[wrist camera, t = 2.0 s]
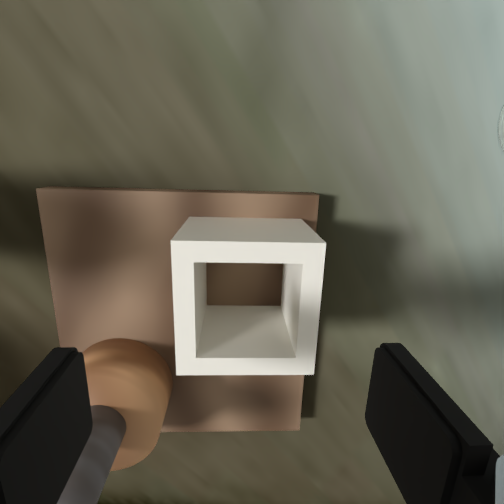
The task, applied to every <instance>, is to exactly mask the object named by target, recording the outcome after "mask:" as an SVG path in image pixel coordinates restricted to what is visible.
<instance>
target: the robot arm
mask: <svg viewBox="0 0 504 504" xmlns="http://www.w3.org/2000/svg"><path fill="white" fill-rule="evenodd" d="M365 420H366V424H367V427H368V429H369V431H370V433H371V435H372V437H373V438H374V440H375V442H376V444H377V446H378V448H379V450H380V452H381V454H382V456H383V458H384V460H385V462H386V464H387V466H388V468H389V470H390V472H391V474H392V476H393V478H394V480H395V482H396V484H397V486H398V488H399V490H400V492H401V494H402V496H403V498H404V500H405V501H406V503H407V504H504V455H502V456H501V457H500V456H499V455H498V453H497V452H496V451H495V450H494V449H493V444H492V443H491V442H490V441H489V440H488V438H487V437H486V436H485V435H484V434H483V433H482V432H481V431H480V430H479V429H478V427H477V426H476V425H475V424H474V423H473V422H472V421H471V420H470V419H469V418H468V416H467V415H466V414H465V413H464V412H463V411H462V410H461V409H460V408H459V407H458V405H457V404H456V403H455V402H454V401H453V400H452V399H451V398H450V397H449V396H448V394H447V393H446V392H445V391H444V390H443V389H442V388H441V387H440V386H439V384H438V383H437V382H436V381H435V380H434V379H433V378H432V377H431V376H430V375H429V373H428V372H427V371H426V370H425V369H424V368H423V367H422V366H421V365H420V364H419V362H418V361H417V360H416V359H415V358H414V357H413V356H412V355H411V354H410V353H409V351H408V350H407V349H406V348H405V347H404V346H403V345H402V344H401V343H382V344H381V345H380V348H376V350H375V354H374V360H373V367H372V373H371V380H370V386H369V392H368V399H367V405H366V412H365ZM92 427H93V420H92V413H91V406H90V398H89V391H88V384H87V376H86V369H85V362H84V355H83V353H82V352H78V350H77V348H75V347H57V348H54V349H53V350H52V351H51V352H50V353H49V354H48V355H47V356H46V357H45V359H44V360H43V361H42V362H41V363H40V364H39V365H38V366H37V367H36V369H35V370H34V371H33V372H32V373H31V374H30V375H29V376H28V377H27V379H26V380H25V381H24V382H23V383H22V384H21V385H20V386H19V388H18V389H17V390H16V391H15V392H14V393H13V394H12V395H11V396H10V398H9V399H8V400H7V401H6V402H5V403H4V404H3V405H2V406H1V408H0V504H57V502H58V500H59V498H60V496H61V494H62V492H63V490H64V488H65V486H66V484H67V482H68V480H69V478H70V476H71V474H72V472H73V470H74V468H75V465H76V463H77V461H78V459H79V457H80V455H81V453H82V451H83V449H84V447H85V445H86V443H87V441H88V439H89V437H90V435H91V432H92Z"/></svg>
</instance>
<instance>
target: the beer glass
mask: <svg viewBox="0 0 504 504" xmlns="http://www.w3.org/2000/svg"><path fill="white" fill-rule="evenodd" d="M498 135H499V141H500V144H501V147H502V149H503V151H504V105H503V108H502V111H501V114H500V118H499V124H498Z"/></svg>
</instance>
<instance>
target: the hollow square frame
mask: <svg viewBox="0 0 504 504" xmlns="http://www.w3.org/2000/svg"><path fill="white" fill-rule="evenodd" d="M325 252H326V242H325V241H324V240H323V239H322V238H321V237H320V236H319V235H318V234H316V233H315V232H314V231H313V230H312V229H311V228H310V227H309V226H308V225H307V224H306V223H305V222H304V221H303V220H302V219H283V218H233V217H189V218H188V219H187V220H186V222H185V223H184V224H183V225H182V227H181V228H180V229H179V230H178V232H177V233H176V234H175V236H174V237H173V238H172V239H171V264H172V287H173V310H174V334H175V357H176V375H314V368H315V358H316V347H317V337H318V326H319V315H320V305H321V294H322V283H323V273H324V262H325ZM206 262H209V263H283V275H282V293H281V306H231V305H207V285H206Z"/></svg>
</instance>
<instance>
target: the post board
mask: <svg viewBox="0 0 504 504" xmlns="http://www.w3.org/2000/svg"><path fill="white" fill-rule="evenodd" d="M36 193H37V199H38V206H39V212H40V219H41V225H42V232H43V238H44V245H45V251H46V258H47V264H48V271H49V277H50V284H51V290H52V296H53V303H54V309H55V316H56V322H57V329H58V335H59V342H60V347H75V348H77V350H78V352H82V353H83V355H84V362H85V369H86V376H87V384H88V391H89V398H90V406H91V413H92V420H93V427H92V432H91V435H90V437H89V439H88V441H87V443H86V445H85V447H84V449H83V451H82V453H81V455H80V457H79V459H78V461H77V463H76V465H75V468H74V470H73V472H72V474H71V476H70V478H69V480H68V482H67V484H66V486H65V488H64V490H63V492H62V494H61V496H60V498H59V500H58V502H57V504H97V502H98V499H99V497H100V494H101V492H102V489H103V487H104V484H105V482H106V479H107V477H108V474H109V472H110V471H114V470H120V469H124V468H128V467H130V466H132V465H135V464H137V463H138V462H140V461H142V460H143V459H144V458H146V457H147V456H148V455H149V454H150V453H151V451H152V450H153V449H154V447H155V445H156V443H157V441H158V438H159V435H160V432H202V431H286V430H299V429H300V417H301V405H302V394H303V382H304V375H176V357H175V334H174V310H173V287H172V264H171V239H172V238H173V237H174V236H175V234H176V233H177V232H178V230H179V229H180V228H181V227H182V225H183V224H184V223H185V222H186V220H187V219H188V218H189V217H233V218H283V219H302V220H303V221H304V222H305V223H306V224H307V225H308V226H309V227H310V228H311V229H312V230H313V231H314V232H315V233H316V228H317V216H318V204H319V195H318V194H316V193H308V192H266V191H225V190H183V189H141V188H99V187H57V186H49V187H42V188H36ZM282 275H283V263H209V262H206V285H207V305H231V306H281V293H282Z"/></svg>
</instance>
